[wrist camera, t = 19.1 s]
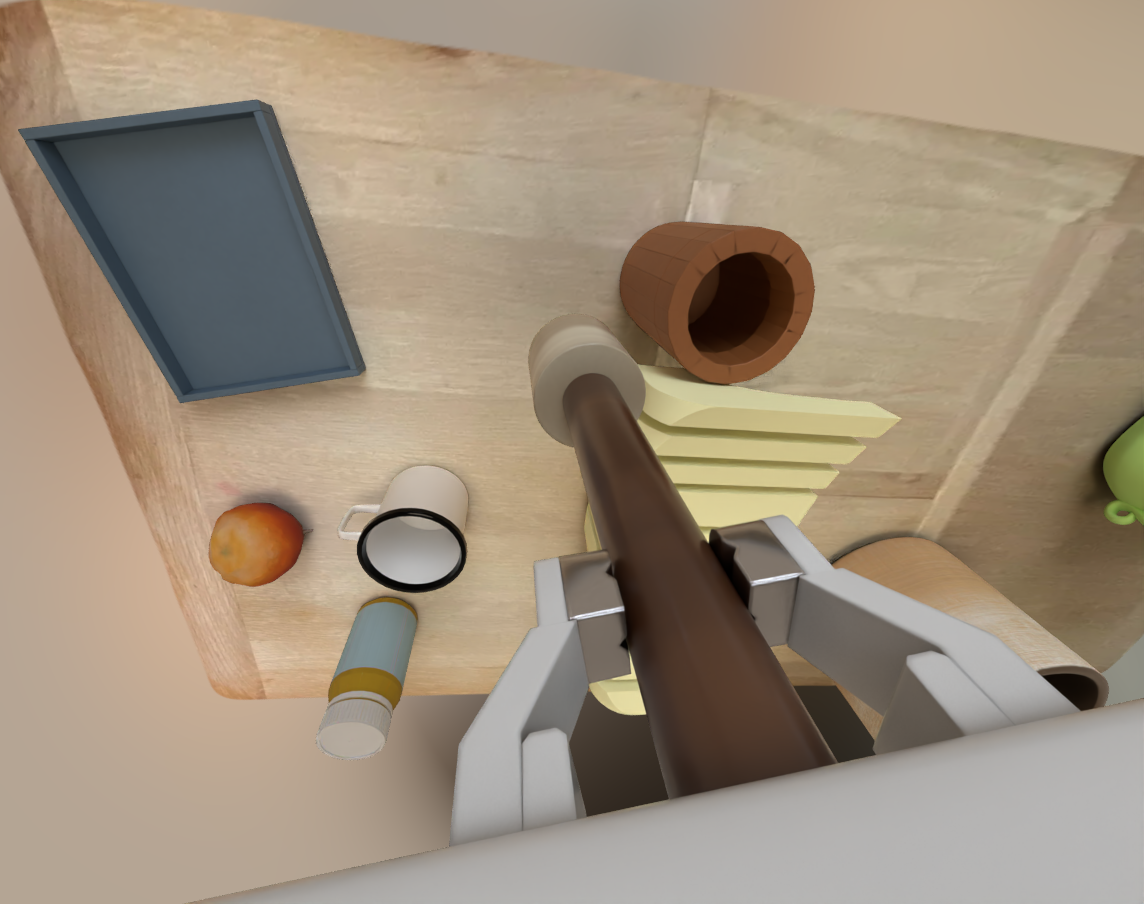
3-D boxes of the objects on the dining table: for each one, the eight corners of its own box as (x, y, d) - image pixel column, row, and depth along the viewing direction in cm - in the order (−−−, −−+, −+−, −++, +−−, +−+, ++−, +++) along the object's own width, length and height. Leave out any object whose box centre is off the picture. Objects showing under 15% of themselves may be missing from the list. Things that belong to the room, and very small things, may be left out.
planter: (921, 629, 70) (1060, 770, 52) (784, 656, 69) (878, 809, 51) (963, 516, 59) (1155, 646, 41) (801, 547, 58) (927, 693, 40)
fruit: (294, 581, 49) (222, 612, 41) (254, 523, 50) (176, 543, 42) (341, 539, 47) (275, 563, 39) (299, 480, 48) (226, 492, 40)
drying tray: (45, 133, 31) (17, 129, 29) (271, 105, 31) (257, 99, 30) (194, 394, 40) (179, 403, 38) (366, 368, 41) (359, 375, 39)
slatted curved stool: (606, 330, 42) (663, 403, 26) (764, 345, 44) (902, 419, 29) (570, 574, 55) (593, 716, 40) (691, 574, 58) (757, 708, 42)
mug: (475, 461, 46) (467, 513, 38) (473, 534, 51) (466, 593, 43) (351, 455, 44) (317, 509, 37) (360, 531, 49) (331, 594, 41)
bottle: (385, 585, 53) (344, 709, 40) (430, 614, 56) (406, 738, 43) (346, 615, 54) (293, 745, 41) (392, 642, 57) (357, 770, 44)
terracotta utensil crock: (615, 230, 38) (666, 240, 25) (724, 214, 38) (825, 217, 26) (623, 340, 42) (669, 393, 30) (719, 325, 43) (804, 372, 30)
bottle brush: (520, 321, 20) (574, 819, 4) (615, 306, 21) (1037, 719, 4) (536, 409, 23) (614, 962, 6) (622, 394, 23) (918, 892, 6)
